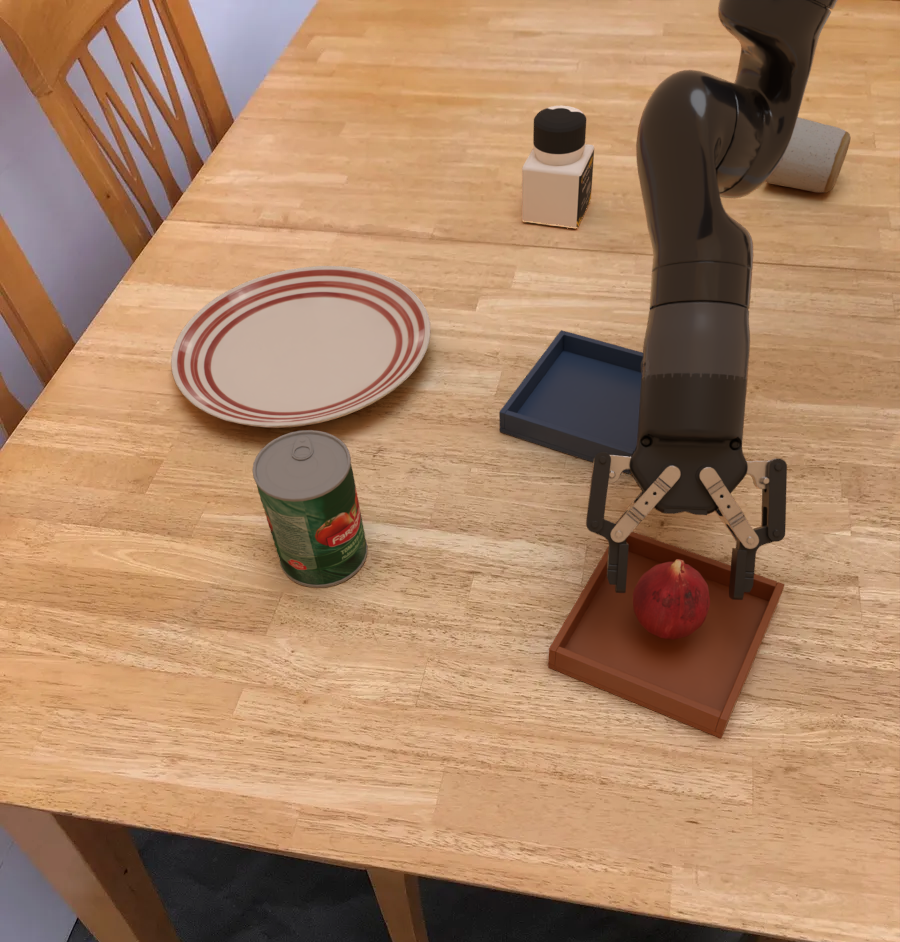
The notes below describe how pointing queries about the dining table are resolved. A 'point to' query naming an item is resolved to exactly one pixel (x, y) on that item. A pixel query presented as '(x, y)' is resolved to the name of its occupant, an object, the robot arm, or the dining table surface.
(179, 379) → the dinner plate
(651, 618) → the onion
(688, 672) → the copper tray
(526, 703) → the dining table surface
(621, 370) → the blue tray
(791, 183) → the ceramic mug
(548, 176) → the medicine bottle
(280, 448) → the canned tomato
